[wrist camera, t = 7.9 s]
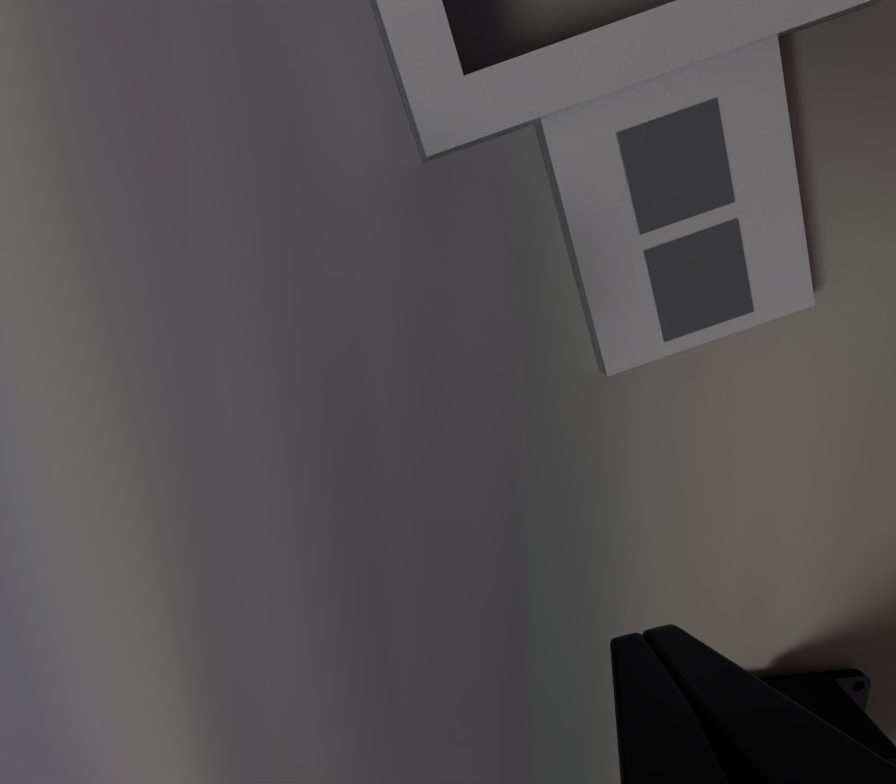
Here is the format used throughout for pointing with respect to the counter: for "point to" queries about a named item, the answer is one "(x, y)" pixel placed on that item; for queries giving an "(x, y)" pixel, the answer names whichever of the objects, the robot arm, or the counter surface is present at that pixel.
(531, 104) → the light grey flat frame
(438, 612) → the counter surface
